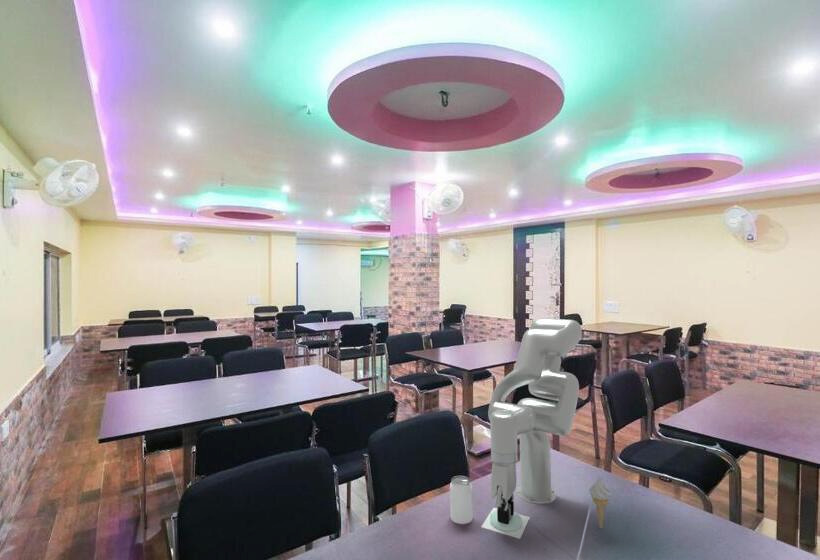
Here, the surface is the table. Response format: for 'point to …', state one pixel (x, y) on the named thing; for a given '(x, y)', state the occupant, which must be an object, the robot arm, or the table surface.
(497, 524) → the lid
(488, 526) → the mat
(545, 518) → the table surface
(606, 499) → the ice cream cone
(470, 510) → the can
